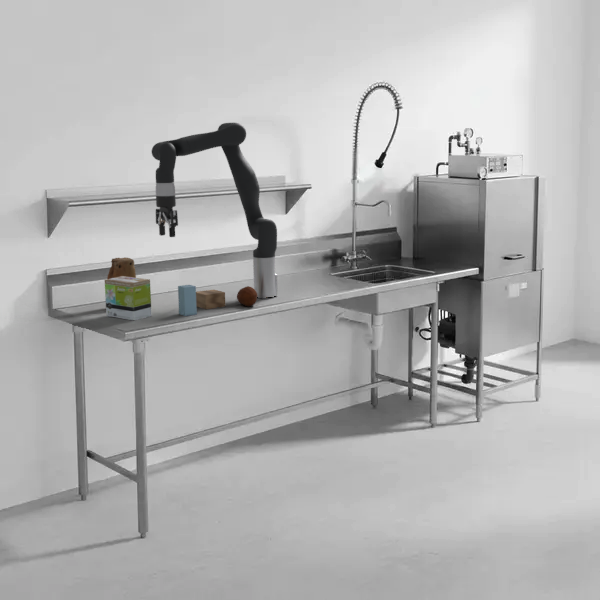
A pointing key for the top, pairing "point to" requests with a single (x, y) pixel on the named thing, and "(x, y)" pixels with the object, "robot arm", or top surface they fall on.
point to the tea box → (128, 298)
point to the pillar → (187, 300)
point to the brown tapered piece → (122, 268)
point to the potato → (247, 296)
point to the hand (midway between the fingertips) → (167, 236)
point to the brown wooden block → (210, 299)
